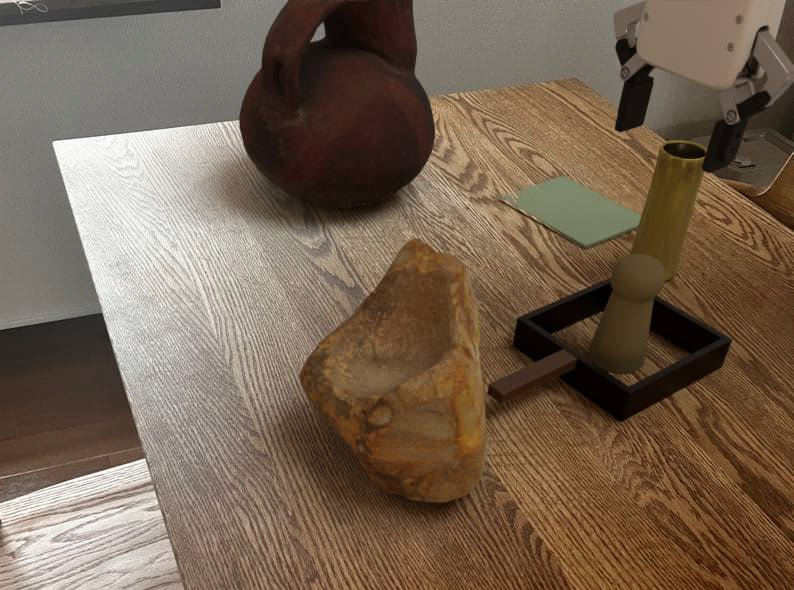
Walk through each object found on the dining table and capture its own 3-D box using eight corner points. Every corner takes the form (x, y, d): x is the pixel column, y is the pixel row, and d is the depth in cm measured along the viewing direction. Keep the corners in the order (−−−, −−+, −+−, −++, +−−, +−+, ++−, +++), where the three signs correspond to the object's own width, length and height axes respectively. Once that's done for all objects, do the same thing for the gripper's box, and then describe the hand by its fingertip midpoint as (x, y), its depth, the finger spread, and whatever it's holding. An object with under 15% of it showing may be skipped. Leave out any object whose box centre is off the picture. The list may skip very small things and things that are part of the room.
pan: (611, 301, 95) (618, 273, 92) (721, 367, 86) (732, 339, 84) (440, 378, 84) (442, 349, 81) (547, 462, 76) (553, 433, 73)
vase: (644, 287, 97) (679, 165, 86) (614, 262, 101) (644, 142, 90) (686, 277, 99) (725, 156, 88) (655, 253, 102) (689, 134, 92)
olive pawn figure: (632, 338, 90) (659, 243, 81) (653, 371, 86) (684, 275, 78) (579, 342, 89) (601, 247, 81) (598, 375, 85) (623, 279, 77)
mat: (562, 178, 116) (563, 175, 116) (649, 223, 108) (650, 220, 107) (499, 200, 111) (500, 196, 111) (585, 249, 103) (586, 245, 102)
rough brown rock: (314, 362, 86) (293, 230, 75) (472, 354, 86) (475, 219, 74) (300, 529, 71) (271, 394, 60) (492, 520, 71) (499, 383, 59)
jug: (210, 182, 112) (180, -35, 94) (350, 135, 124) (348, -65, 106) (326, 253, 100) (318, 20, 82) (468, 194, 112) (489, -22, 94)
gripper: (878, -78, 56) (780, 175, 68) (679, -125, 65) (624, 106, 77) (815, -67, 52) (724, 196, 65) (614, -117, 61) (568, 123, 74)
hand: (670, 147), depth 71 cm, fingers open, 9 cm apart
